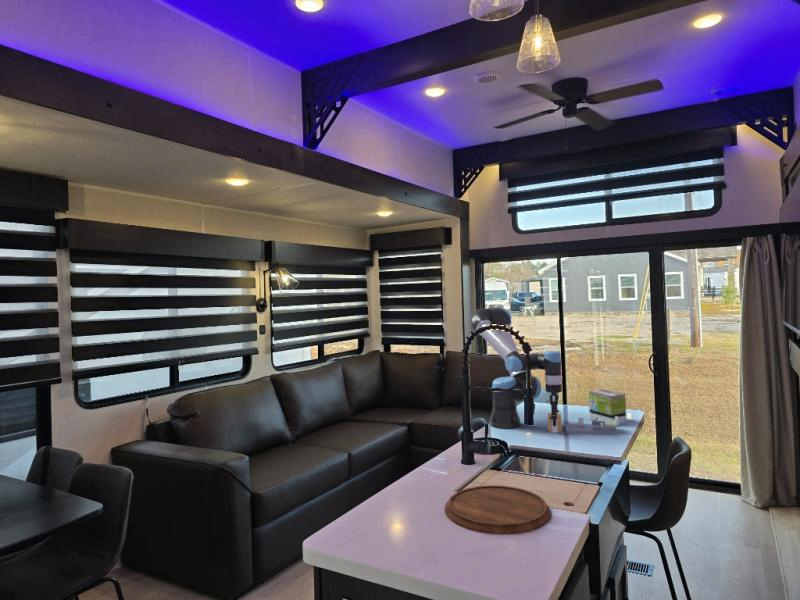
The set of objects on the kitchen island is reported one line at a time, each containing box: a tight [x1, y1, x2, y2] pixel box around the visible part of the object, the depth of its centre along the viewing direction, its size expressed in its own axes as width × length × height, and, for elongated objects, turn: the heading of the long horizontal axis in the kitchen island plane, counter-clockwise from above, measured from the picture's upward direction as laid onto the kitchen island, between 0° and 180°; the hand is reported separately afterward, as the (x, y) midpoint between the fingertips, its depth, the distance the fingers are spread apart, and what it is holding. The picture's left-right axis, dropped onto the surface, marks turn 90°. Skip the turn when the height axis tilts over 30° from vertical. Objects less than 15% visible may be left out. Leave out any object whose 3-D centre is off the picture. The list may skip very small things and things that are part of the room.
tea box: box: [588, 388, 627, 425], centre depth 261 cm, size 15×10×15 cm
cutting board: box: [444, 485, 552, 535], centre depth 159 cm, size 32×32×2 cm
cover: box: [604, 416, 621, 428], centre depth 242 cm, size 6×9×3 cm
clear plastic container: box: [565, 417, 618, 436], centre depth 245 cm, size 22×12×6 cm, turn 72°
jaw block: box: [547, 413, 562, 432], centre depth 249 cm, size 6×6×7 cm
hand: (555, 429), depth 249 cm, fingers open, 11 cm apart
